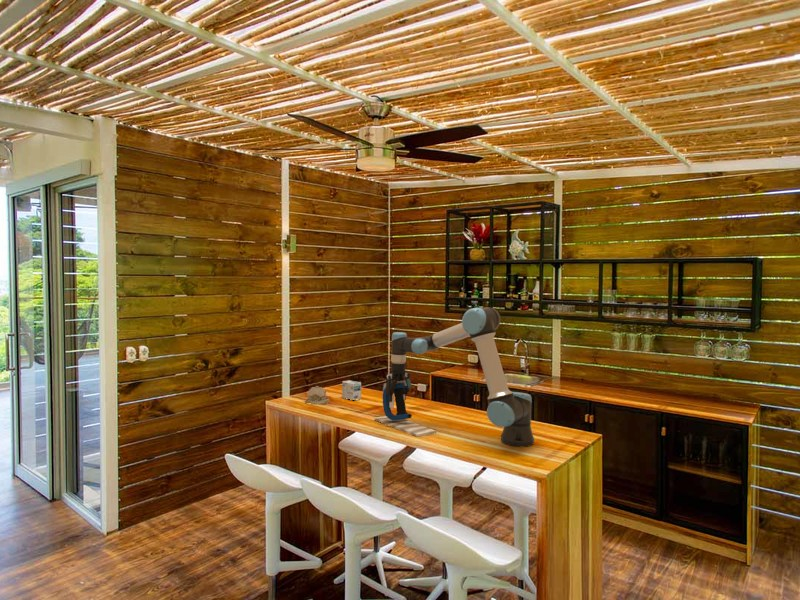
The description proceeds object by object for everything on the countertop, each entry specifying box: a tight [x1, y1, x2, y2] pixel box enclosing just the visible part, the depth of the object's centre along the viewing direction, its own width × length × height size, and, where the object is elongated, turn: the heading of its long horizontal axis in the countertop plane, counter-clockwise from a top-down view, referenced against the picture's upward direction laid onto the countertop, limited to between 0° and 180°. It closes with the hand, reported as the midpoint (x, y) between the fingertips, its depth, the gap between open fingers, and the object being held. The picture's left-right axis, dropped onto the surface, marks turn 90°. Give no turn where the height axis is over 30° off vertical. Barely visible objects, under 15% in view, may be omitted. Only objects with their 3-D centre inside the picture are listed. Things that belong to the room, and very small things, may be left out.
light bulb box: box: [341, 380, 362, 401], centre depth 331 cm, size 11×7×11 cm, turn 49°
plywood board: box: [373, 415, 437, 438], centre depth 271 cm, size 36×12×1 cm, turn 37°
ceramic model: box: [305, 385, 330, 405], centre depth 320 cm, size 14×11×10 cm
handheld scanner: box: [381, 378, 413, 420], centre depth 276 cm, size 5×16×20 cm, turn 62°
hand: (397, 407), depth 276 cm, fingers open, 6 cm apart
